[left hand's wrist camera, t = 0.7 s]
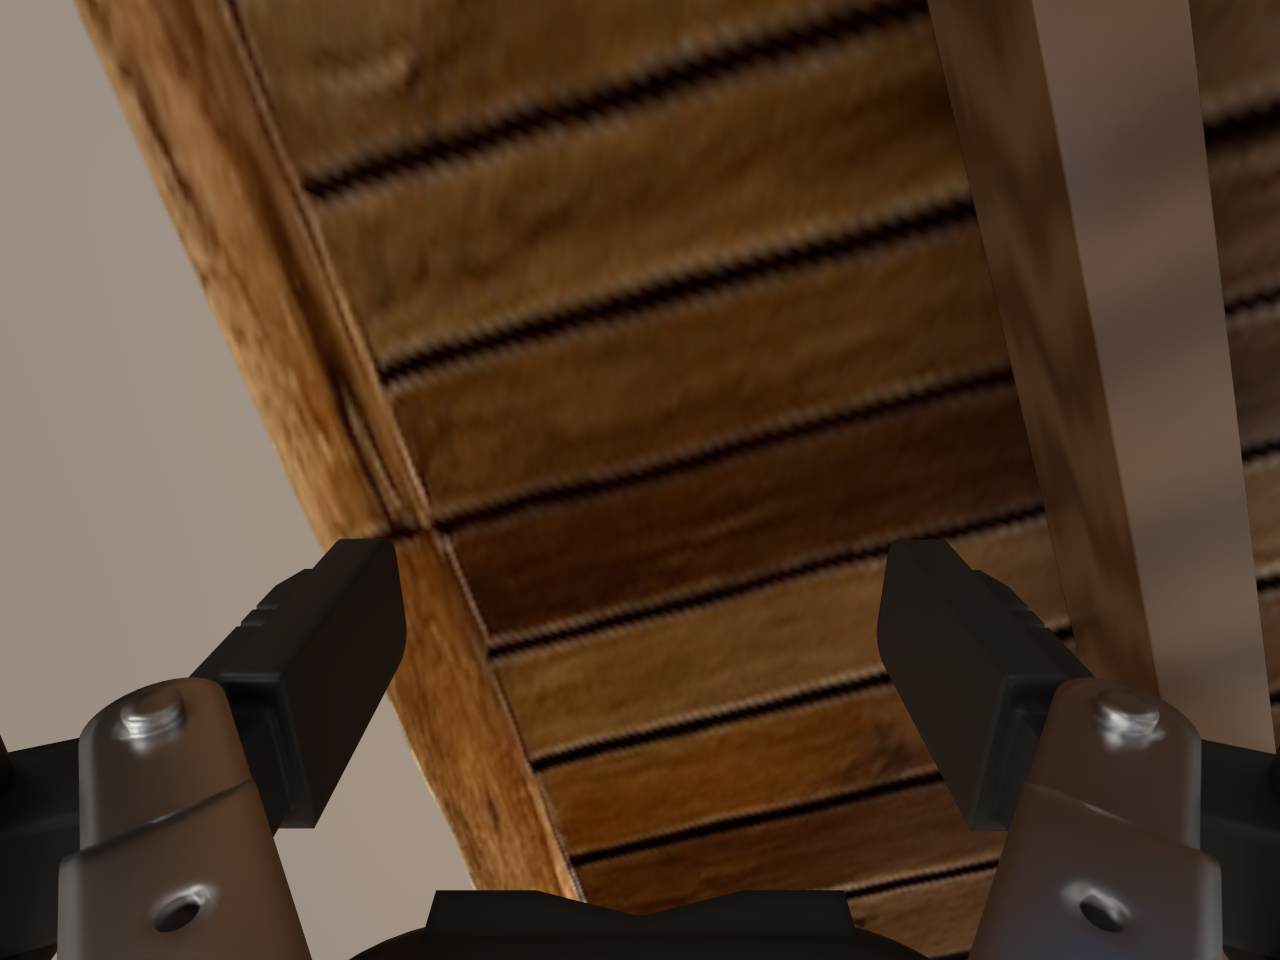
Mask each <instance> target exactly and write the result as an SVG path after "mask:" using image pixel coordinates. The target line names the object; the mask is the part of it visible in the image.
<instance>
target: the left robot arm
mask: <svg viewBox="0 0 1280 960" xmlns="http://www.w3.org/2000/svg"><path fill="white" fill-rule="evenodd" d="M877 640H878V648H879V653H880V657H881V660H882V662H883V664H884V666H885V668H886V670H887V672H888V674H889V676H890V678H891V680H892V682H893V683H894V685H895V687H896V689H897V691H898V693H899V695H900V697H901V699H902V701H903V702H904V704H905V706H906V708H907V710H908V712H909V714H910V716H911V718H912V720H913V721H914V723H915V725H916V727H917V729H918V731H919V733H920V735H921V737H922V739H923V740H924V742H925V744H926V746H927V748H928V750H929V752H930V754H931V756H932V757H933V759H934V761H935V763H936V765H937V767H938V769H939V771H940V773H941V775H942V776H943V778H944V780H945V782H946V784H947V786H948V788H949V790H950V792H951V794H952V795H953V797H954V799H955V801H956V803H957V805H958V807H959V809H960V811H961V813H962V814H963V816H964V818H965V820H966V822H967V824H968V826H969V828H970V830H971V831H1008V835H1007V839H1006V842H1005V845H1004V848H1003V851H1002V854H1001V857H1000V861H999V864H998V867H997V870H996V873H995V876H994V879H993V883H992V886H991V889H990V892H989V895H988V898H987V901H986V905H985V908H984V911H983V914H982V917H981V920H980V923H979V927H978V930H977V933H976V936H975V939H974V942H973V945H972V949H971V952H970V955H969V958H968V960H1223V952H1224V954H1225V955H1226V956H1227V958H1228V959H1229V960H1280V745H1279V747H1278V749H1277V751H1276V754H1272V753H1267V752H1262V751H1257V750H1253V749H1248V748H1243V747H1238V746H1233V745H1228V744H1223V743H1218V742H1214V741H1209V740H1204V739H1201V738H1200V735H1199V733H1198V731H1197V729H1196V728H1195V726H1194V725H1193V724H1192V722H1191V721H1190V720H1189V719H1188V718H1187V717H1186V716H1185V715H1184V714H1183V713H1181V712H1180V711H1179V710H1178V709H1176V708H1175V707H1174V706H1172V705H1170V704H1169V703H1167V702H1166V701H1164V700H1162V699H1161V698H1159V697H1157V696H1155V695H1153V694H1151V693H1149V692H1147V691H1144V690H1142V689H1139V688H1137V687H1134V686H1131V685H1128V684H1125V683H1121V682H1118V681H1113V680H1108V679H1102V678H1096V677H1095V676H1094V675H1093V674H1092V673H1091V672H1090V671H1089V670H1088V669H1087V668H1086V667H1085V666H1084V665H1083V664H1082V663H1081V662H1080V661H1079V660H1078V658H1077V657H1076V656H1075V655H1074V654H1073V653H1072V652H1071V651H1070V650H1069V649H1068V648H1067V647H1066V646H1065V645H1064V644H1063V643H1062V642H1061V641H1060V640H1059V639H1058V638H1057V637H1056V636H1055V635H1054V633H1053V632H1052V631H1051V630H1050V629H1049V628H1044V623H1043V622H1042V621H1041V620H1040V619H1039V618H1038V617H1037V616H1036V615H1035V614H1034V613H1033V612H1032V611H1028V606H1027V605H1026V604H1025V603H1024V602H1023V601H1022V600H1021V599H1020V598H1019V597H1018V596H1017V595H1016V594H1015V593H1014V592H1013V591H1012V590H1011V589H1010V588H1009V587H1008V586H1006V585H1004V584H1003V583H1001V582H999V581H998V580H996V579H994V578H992V577H991V576H989V575H987V574H985V573H984V572H982V571H980V570H972V569H971V568H970V567H969V566H968V565H967V564H966V563H965V562H964V561H963V559H962V558H961V557H960V556H959V555H958V554H957V553H956V552H955V551H954V549H953V548H952V547H951V546H950V545H949V544H948V543H947V542H946V541H944V540H895V541H894V542H893V543H892V544H891V546H890V548H889V552H888V557H887V563H886V570H885V577H884V583H883V590H882V597H881V604H880V610H879V617H878V625H877ZM405 644H406V619H405V612H404V605H403V598H402V591H401V585H400V578H399V571H398V564H397V557H396V552H395V548H394V546H393V543H392V542H391V541H390V540H389V539H340V540H338V541H337V542H336V543H335V544H334V545H333V546H332V547H331V549H330V550H329V551H328V552H327V553H326V554H325V555H324V556H323V558H322V559H321V560H320V561H319V562H318V563H317V564H316V565H315V567H314V568H313V569H304V570H302V571H300V572H299V573H297V574H295V575H293V576H292V577H290V578H288V579H286V580H285V581H283V582H281V583H280V584H278V585H276V586H275V587H274V588H273V589H272V590H271V591H270V592H269V593H268V594H267V595H266V596H265V597H264V598H263V600H262V601H261V602H260V603H259V604H258V605H257V609H256V610H252V611H251V612H250V613H249V614H248V615H247V616H246V617H245V618H244V620H243V621H242V622H241V626H240V627H236V628H235V629H234V630H233V631H232V632H231V633H230V634H229V635H228V636H227V637H226V638H225V639H224V641H223V642H222V643H221V644H220V645H219V646H218V647H217V648H216V649H215V650H214V651H213V652H212V653H211V654H210V655H209V656H208V658H206V660H205V661H204V662H203V663H202V664H201V665H200V666H199V667H198V668H197V669H196V670H195V671H194V672H193V673H192V674H191V675H190V676H189V677H188V678H179V679H172V680H167V681H162V682H159V683H156V684H152V685H149V686H146V687H143V688H141V689H138V690H136V691H134V692H131V693H129V694H127V695H125V696H123V697H121V698H119V699H118V700H116V701H114V702H113V703H111V704H110V705H108V706H106V707H105V708H104V709H102V710H101V711H100V712H99V713H97V714H96V715H95V716H94V717H93V718H92V719H91V720H90V721H89V722H88V724H87V725H86V726H85V728H84V729H83V731H82V733H81V735H80V738H76V739H71V740H66V741H62V742H57V743H52V744H47V745H42V746H37V747H32V748H27V749H23V750H18V751H13V752H7V750H6V747H5V745H4V743H3V740H2V738H1V736H0V960H51V959H52V958H53V956H54V955H55V954H56V952H57V960H312V958H311V955H310V952H309V949H308V945H307V942H306V939H305V936H304V933H303V930H302V927H301V924H300V920H299V917H298V914H297V911H296V908H295V905H294V902H293V898H292V895H291V892H290V889H289V886H288V883H287V879H286V876H285V873H284V870H283V867H282V864H281V861H280V858H279V854H278V851H277V848H276V845H275V842H274V839H273V837H274V835H275V833H276V832H277V830H278V828H315V826H316V824H317V822H318V820H319V818H320V816H321V814H322V812H323V810H324V809H325V807H326V805H327V803H328V801H329V799H330V797H331V795H332V793H333V791H334V789H335V787H336V785H337V783H338V782H339V780H340V778H341V776H342V774H343V772H344V770H345V768H346V766H347V764H348V762H349V760H350V758H351V757H352V755H353V753H354V751H355V749H356V747H357V745H358V743H359V741H360V739H361V737H362V735H363V734H364V732H365V730H366V728H367V726H368V724H369V722H370V720H371V718H372V716H373V714H374V712H375V711H376V709H377V707H378V705H379V703H380V701H381V699H382V697H383V695H384V693H385V691H386V689H387V687H388V686H389V684H390V682H391V680H392V678H393V676H394V674H395V672H396V670H397V668H398V666H399V664H400V662H401V660H402V657H403V654H404V650H405ZM349 960H931V959H929V958H927V957H926V956H924V955H922V954H921V953H919V952H917V951H915V950H913V949H911V948H909V947H907V946H905V945H903V944H901V943H898V942H896V941H894V940H892V939H889V938H886V937H884V936H881V935H878V934H876V933H873V932H870V931H867V930H864V929H860V928H856V927H854V923H853V920H852V916H851V913H850V910H849V906H848V903H847V900H846V896H845V893H844V890H743V891H739V892H736V893H732V894H728V895H724V896H720V897H716V898H712V899H708V900H704V901H700V902H697V903H693V904H689V905H685V906H681V907H677V908H673V909H669V910H665V911H661V912H657V913H654V914H649V915H631V914H626V913H623V912H619V911H615V910H611V909H607V908H603V907H599V906H595V905H591V904H587V903H583V902H580V901H576V900H572V899H568V898H564V897H560V896H556V895H552V894H548V893H544V892H541V891H537V890H437V891H436V893H435V896H434V900H433V903H432V906H431V910H430V913H429V917H428V920H427V923H426V927H424V928H421V929H417V930H413V931H410V932H407V933H404V934H402V935H399V936H396V937H394V938H391V939H388V940H386V941H384V942H382V943H380V944H377V945H375V946H373V947H371V948H369V949H367V950H365V951H363V952H361V953H359V954H358V955H356V956H354V957H353V958H351V959H349Z"/></svg>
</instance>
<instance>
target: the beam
mask: <svg viewBox="0 0 1280 960" xmlns="http://www.w3.org/2000/svg"><path fill="white" fill-rule="evenodd" d="M927 2H928V7H929V11H930V15H931V20H932V24H933V28H934V33H935V37H936V41H937V46H938V50H939V54H940V59H941V63H942V67H943V72H944V76H945V80H946V85H947V89H948V93H949V98H950V102H951V106H952V111H953V115H954V119H955V124H956V128H957V132H958V137H959V141H960V145H961V150H962V154H963V158H964V163H965V167H966V171H967V176H968V180H969V184H970V189H971V193H972V197H973V202H974V206H975V210H976V215H977V219H978V223H979V228H980V232H981V236H982V240H983V245H984V249H985V253H986V258H987V262H988V266H989V271H990V275H991V279H992V284H993V288H994V292H995V297H996V301H997V305H998V310H999V314H1000V318H1001V323H1002V327H1003V331H1004V336H1005V340H1006V344H1007V349H1008V353H1009V357H1010V362H1011V366H1012V370H1013V375H1014V379H1015V383H1016V388H1017V392H1018V396H1019V401H1020V405H1021V409H1022V414H1023V418H1024V422H1025V427H1026V431H1027V435H1028V440H1029V444H1030V448H1031V453H1032V457H1033V461H1034V466H1035V470H1036V474H1037V479H1038V483H1039V487H1040V492H1041V496H1042V500H1043V505H1044V509H1045V513H1046V518H1047V522H1048V526H1049V531H1050V535H1051V539H1052V544H1053V548H1054V552H1055V557H1056V561H1057V565H1058V570H1059V574H1060V578H1061V583H1062V587H1063V591H1064V596H1065V600H1066V604H1067V609H1068V613H1069V617H1070V622H1071V626H1072V630H1073V634H1074V639H1075V643H1076V647H1077V652H1078V656H1079V660H1080V662H1081V663H1082V664H1083V665H1084V666H1085V667H1086V668H1087V669H1088V670H1089V671H1090V672H1091V673H1092V674H1093V675H1094V676H1095V677H1096V678H1102V679H1108V680H1113V681H1118V682H1121V683H1125V684H1128V685H1131V686H1134V687H1137V688H1139V689H1142V690H1144V691H1147V692H1149V693H1151V694H1153V695H1155V696H1157V697H1159V698H1161V699H1162V700H1164V701H1166V702H1167V703H1169V704H1170V705H1172V706H1174V707H1175V708H1176V709H1178V710H1179V711H1180V712H1181V713H1183V714H1184V715H1185V716H1186V717H1187V718H1188V719H1189V720H1190V721H1191V722H1192V724H1193V725H1194V726H1195V728H1196V729H1197V731H1198V733H1199V735H1200V738H1201V739H1204V740H1209V741H1214V742H1218V743H1223V744H1228V745H1233V746H1238V747H1243V748H1248V749H1253V750H1257V751H1262V752H1267V753H1272V754H1276V749H1275V741H1274V732H1273V723H1272V715H1271V706H1270V698H1269V689H1268V680H1267V672H1266V663H1265V655H1264V646H1263V637H1262V629H1261V620H1260V612H1259V603H1258V594H1257V586H1256V577H1255V569H1254V560H1253V551H1252V543H1251V534H1250V526H1249V517H1248V508H1247V500H1246V491H1245V482H1244V474H1243V465H1242V457H1241V448H1240V439H1239V431H1238V422H1237V414H1236V405H1235V396H1234V388H1233V379H1232V371H1231V362H1230V353H1229V345H1228V336H1227V328H1226V319H1225V310H1224V302H1223V293H1222V285H1221V276H1220V267H1219V259H1218V250H1217V241H1216V233H1215V224H1214V216H1213V207H1212V198H1211V190H1210V181H1209V173H1208V164H1207V155H1206V147H1205V138H1204V130H1203V121H1202V112H1201V104H1200V95H1199V87H1198V78H1197V69H1196V61H1195V52H1194V44H1193V35H1192V26H1191V18H1190V9H1189V0H927ZM1223 960H1229V959H1228V958H1227V956H1226V955H1225V954H1224V952H1223Z"/></svg>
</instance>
